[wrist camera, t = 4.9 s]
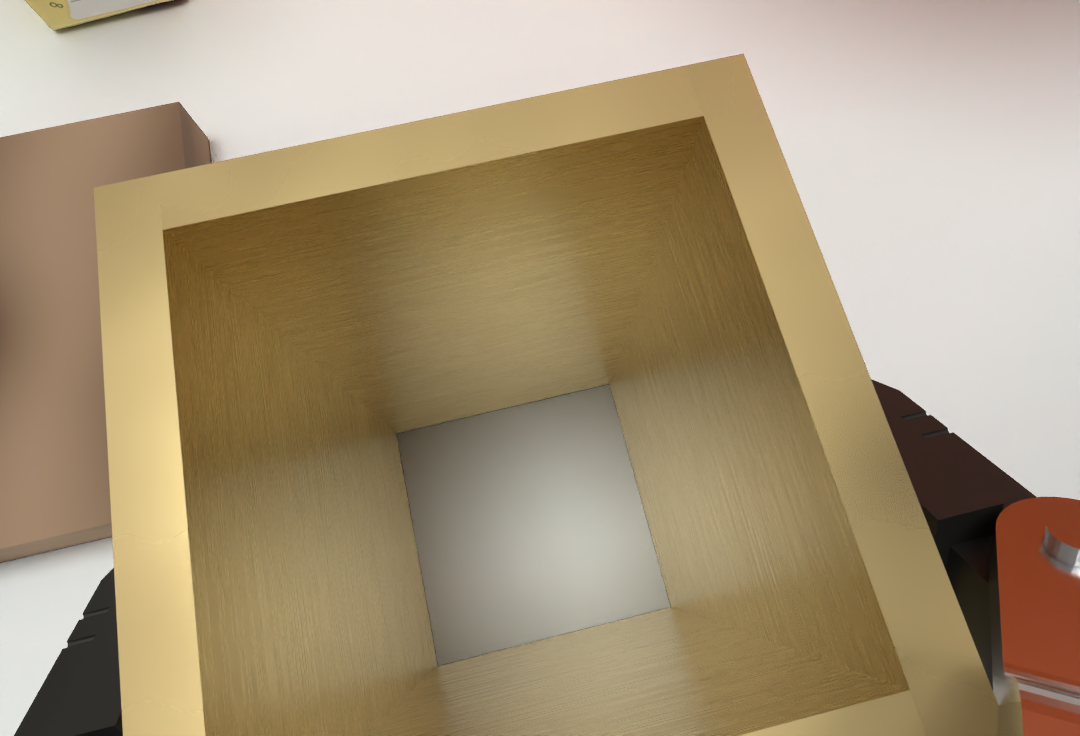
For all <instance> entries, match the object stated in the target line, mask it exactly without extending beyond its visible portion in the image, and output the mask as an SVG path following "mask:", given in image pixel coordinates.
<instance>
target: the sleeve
mask: <svg viewBox="0 0 1080 736" xmlns="http://www.w3.org/2000/svg"><path fill="white" fill-rule="evenodd" d="M94 203H95V222H96V241H97V259H98V278H99V297H100V315H101V334H102V353H103V372H104V390H105V409H106V428H107V446H108V465H109V484H110V503H111V521H112V540H113V559H114V577H115V596H116V615H117V634H118V652H119V671H120V690H121V708H122V727H123V736H997V726H998V711H999V705H998V703H997V700H996V698H995V695H994V692H993V690H992V687H991V685H990V682H989V680H988V677H987V675H986V672H985V669H984V667H983V664H982V662H981V659H980V657H979V654H978V652H977V649H976V646H975V644H974V641H973V639H972V636H971V634H970V631H969V629H968V626H967V623H966V621H965V618H964V616H963V613H962V611H961V608H960V606H959V603H958V600H957V598H956V595H955V593H954V590H953V588H952V585H951V583H950V580H949V577H948V575H947V572H946V570H945V567H944V565H943V562H942V560H941V557H940V554H939V552H938V549H937V547H936V544H935V542H934V539H933V537H932V534H931V531H930V529H929V526H928V524H927V521H926V519H925V516H924V514H923V511H922V508H921V506H920V503H919V501H918V498H917V496H916V493H915V491H914V488H913V485H912V483H911V480H910V478H909V475H908V473H907V470H906V468H905V465H904V462H903V460H902V457H901V455H900V452H899V450H898V447H897V445H896V442H895V439H894V437H893V434H892V432H891V429H890V427H889V424H888V422H887V419H886V417H885V414H884V411H883V409H882V406H881V404H880V401H879V399H878V396H877V394H876V391H875V388H874V386H873V383H872V381H871V378H870V376H869V373H868V371H867V368H866V365H865V363H864V360H863V358H862V355H861V353H860V350H859V348H858V345H857V342H856V340H855V337H854V335H853V332H852V330H851V327H850V325H849V322H848V319H847V317H846V314H845V312H844V309H843V307H842V304H841V302H840V299H839V296H838V294H837V291H836V289H835V286H834V284H833V281H832V279H831V276H830V273H829V271H828V268H827V266H826V263H825V261H824V258H823V256H822V253H821V250H820V248H819V245H818V243H817V240H816V238H815V235H814V233H813V230H812V227H811V225H810V222H809V220H808V217H807V215H806V212H805V210H804V207H803V204H802V202H801V199H800V197H799V194H798V192H797V189H796V187H795V184H794V181H793V179H792V176H791V174H790V171H789V169H788V166H787V164H786V161H785V158H784V156H783V153H782V151H781V148H780V146H779V143H778V141H777V138H776V135H775V133H774V130H773V128H772V125H771V123H770V120H769V118H768V115H767V113H766V110H765V107H764V105H763V102H762V100H761V97H760V95H759V92H758V90H757V87H756V84H755V82H754V79H753V77H752V74H751V72H750V69H749V67H748V64H747V61H746V59H745V56H744V54H740V55H735V56H730V57H725V58H720V59H715V60H711V61H706V62H701V63H696V64H691V65H686V66H682V67H677V68H672V69H667V70H662V71H657V72H652V73H648V74H643V75H638V76H633V77H628V78H623V79H618V80H614V81H609V82H604V83H599V84H594V85H589V86H584V87H580V88H575V89H570V90H565V91H560V92H555V93H550V94H546V95H541V96H536V97H531V98H526V99H521V100H517V101H512V102H507V103H502V104H497V105H492V106H487V107H483V108H478V109H473V110H468V111H463V112H458V113H453V114H449V115H444V116H439V117H434V118H429V119H424V120H419V121H415V122H410V123H405V124H400V125H395V126H390V127H385V128H381V129H376V130H371V131H366V132H361V133H356V134H352V135H347V136H342V137H337V138H332V139H327V140H322V141H318V142H313V143H308V144H303V145H298V146H293V147H288V148H284V149H279V150H274V151H269V152H264V153H259V154H254V155H250V156H245V157H240V158H235V159H230V160H225V161H220V162H216V163H211V164H206V165H201V166H196V167H191V168H187V169H182V170H177V171H172V172H167V173H162V174H157V175H153V176H148V177H143V178H138V179H133V180H128V181H123V182H119V183H114V184H109V185H104V186H99V187H94ZM607 384H610V387H611V391H612V395H613V398H614V402H615V406H616V409H617V413H618V416H619V420H620V424H621V427H622V431H623V435H624V438H625V442H626V445H627V449H628V453H629V456H630V460H631V464H632V467H633V471H634V474H635V478H636V482H637V485H638V489H639V493H640V496H641V500H642V503H643V507H644V511H645V514H646V518H647V522H648V525H649V529H650V532H651V536H652V540H653V543H654V547H655V551H656V554H657V558H658V561H659V565H660V569H661V572H662V576H663V580H664V583H665V587H666V591H667V594H668V598H669V601H670V605H671V607H670V608H666V609H662V610H658V611H654V612H650V613H646V614H642V615H638V616H634V617H630V618H626V619H622V620H618V621H614V622H610V623H606V624H603V625H599V626H595V627H591V628H587V629H583V630H579V631H575V632H571V633H567V634H563V635H559V636H555V637H551V638H547V639H543V640H539V641H535V642H531V643H528V644H524V645H520V646H516V647H512V648H508V649H504V650H500V651H496V652H492V653H488V654H484V655H480V656H476V657H472V658H468V659H464V660H460V661H456V662H453V663H449V664H445V665H441V666H438V665H437V659H436V653H435V648H434V642H433V637H432V631H431V625H430V620H429V614H428V608H427V603H426V597H425V592H424V586H423V580H422V575H421V569H420V564H419V558H418V552H417V547H416V541H415V535H414V530H413V524H412V519H411V513H410V507H409V502H408V496H407V491H406V485H405V479H404V474H403V468H402V462H401V457H400V451H399V446H398V440H397V434H396V433H400V432H404V431H409V430H413V429H417V428H422V427H426V426H430V425H434V424H439V423H443V422H447V421H452V420H456V419H460V418H465V417H469V416H473V415H478V414H482V413H486V412H490V411H495V410H499V409H503V408H508V407H512V406H516V405H521V404H525V403H529V402H533V401H538V400H542V399H546V398H551V397H555V396H559V395H564V394H568V393H572V392H576V391H581V390H585V389H589V388H594V387H598V386H602V385H607Z"/></svg>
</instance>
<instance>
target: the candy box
mask: <svg viewBox="0 0 1080 736" xmlns="http://www.w3.org/2000/svg"><path fill="white" fill-rule="evenodd" d="M25 1H26V2H27V3H28V4H29V5H30V7H31V8H32V9H33V10H34V11H35V12H36V13H37V14H38V15H39V16H40V17H41V18H42V19H43V20H44V21H45V23H46V24H47V25H48V26H49V27H50V28H51V29H53V30H58V29H62V28H67V27H71V26H75V25H79V24H83V23H86V22H90V21H94V20H98V19H102V18H106V17H109V16H113V15H117V14H121V13H124V12H128V11H131V10H135V9H139V8H143V7H147V6H151V5H154V4H158V3H163V2H168V1H172V0H25Z"/></svg>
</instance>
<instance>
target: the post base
mask: <svg viewBox="0 0 1080 736" xmlns="http://www.w3.org/2000/svg"><path fill="white" fill-rule="evenodd" d="M206 164H211V159H210V150H209V141H208V138H207V137H206V135H205V134H204V133H203V131H202V130H201V129H200V128H199V126H198V125H197V124H196V123H195V121H194V120H193V119H192V118H191V116H190V115H189V114H188V113H187V111H186V110H185V109H184V108H183V106H182V105H181V104H180V103H179V102H176V103H171V104H166V105H161V106H156V107H151V108H146V109H141V110H136V111H131V112H126V113H121V114H116V115H111V116H106V117H101V118H96V119H91V120H86V121H81V122H76V123H71V124H66V125H61V126H56V127H51V128H46V129H41V130H36V131H31V132H26V133H21V134H16V135H11V136H6V137H1V138H0V563H1V562H6V561H10V560H14V559H18V558H23V557H27V556H31V555H35V554H40V553H44V552H48V551H52V550H57V549H61V548H65V547H69V546H74V545H78V544H82V543H86V542H91V541H95V540H99V539H103V538H108V537H112V521H111V503H110V484H109V465H108V446H107V428H106V409H105V390H104V372H103V353H102V334H101V315H100V297H99V278H98V259H97V241H96V222H95V203H94V187H99V186H104V185H109V184H114V183H119V182H123V181H128V180H133V179H138V178H143V177H148V176H153V175H157V174H162V173H167V172H172V171H177V170H182V169H187V168H191V167H196V166H201V165H206Z"/></svg>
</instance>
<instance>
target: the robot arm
mask: <svg viewBox="0 0 1080 736" xmlns="http://www.w3.org/2000/svg"><path fill="white" fill-rule="evenodd" d="M871 381H872V383H873V386H874V388H875V391H876V394H877V396H878V399H879V401H880V404H881V406H882V409H883V411H884V414H885V417H886V419H887V422H888V424H889V427H890V429H891V432H892V434H893V437H894V439H895V442H896V445H897V447H898V450H899V452H900V455H901V457H902V460H903V462H904V465H905V468H906V470H907V473H908V475H909V478H910V480H911V483H912V485H913V488H914V491H915V493H916V496H917V498H918V501H919V503H920V506H921V508H922V511H923V514H924V516H925V519H926V521H927V524H928V526H929V529H930V531H931V534H932V537H933V539H934V542H935V544H936V547H937V549H938V552H939V554H940V557H941V560H942V562H943V565H944V567H945V570H946V572H947V575H948V577H949V580H950V583H951V585H952V588H953V590H954V593H955V595H956V598H957V600H958V603H959V606H960V608H961V611H962V613H963V616H964V618H965V621H966V623H967V626H968V629H969V631H970V634H971V636H972V639H973V641H974V644H975V646H976V649H977V652H978V654H979V657H980V659H981V662H982V664H983V667H984V669H985V672H986V675H987V677H988V680H989V682H990V685H991V687H992V690H993V692H994V695H995V698H996V700H997V703H998V705H999V711H998V726H997V736H1080V500H1075V499H1069V498H1060V497H1036V496H1034V495H1033V494H1032V493H1031V492H1029V491H1028V490H1027V489H1025V488H1024V487H1023V486H1022V485H1020V484H1019V483H1018V482H1016V481H1015V480H1014V479H1013V478H1011V477H1010V476H1009V475H1007V474H1006V473H1005V472H1004V471H1002V470H1001V469H1000V468H998V467H997V466H996V465H995V464H993V463H992V462H991V461H989V460H988V459H987V458H986V457H984V456H983V455H982V454H980V453H979V452H978V451H976V450H975V449H974V448H973V447H971V446H970V445H969V444H967V443H966V442H965V441H964V440H962V439H961V438H960V437H958V436H957V435H956V434H955V433H949V432H948V428H947V427H946V426H944V425H943V424H942V423H940V422H939V421H938V420H937V419H935V418H934V417H933V416H931V415H929V416H927V415H926V412H925V410H924V409H922V408H921V407H920V406H919V405H917V404H916V403H915V402H913V401H912V400H911V399H910V398H908V397H907V396H906V395H904V394H903V393H902V392H901V391H899V390H897V389H894V388H892V387H889V386H887V385H884V384H882V383H879V382H876V381H874V380H871ZM83 615H84V618H83V619H82V620H79V621H78V623H77V625H76V626H75V628H74V630H73V632H72V633H71V635H70V637H69V639H68V641H67V643H68V647H67V648H65V649H62V651H61V653H60V655H59V657H58V658H57V660H56V662H55V664H54V665H53V667H52V669H51V671H50V673H49V674H48V676H47V678H46V680H45V681H44V683H43V685H42V687H41V689H40V690H39V692H38V694H37V696H36V697H35V699H34V701H33V703H32V705H31V706H30V708H29V710H28V712H27V713H26V715H25V717H24V719H23V721H22V722H21V724H20V726H19V728H18V729H17V731H16V733H15V735H14V736H123V727H122V708H121V690H120V671H119V652H118V634H117V615H116V596H115V577H114V568H113V569H112V570H111V571H110V572H109V573H108V574H107V575H106V576H105V577H104V578H103V579H102V580H101V582H100V584H99V586H98V587H97V589H96V591H95V593H94V594H93V596H92V598H91V600H90V602H89V603H88V605H87V607H86V609H85V610H84V612H83Z"/></svg>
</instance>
